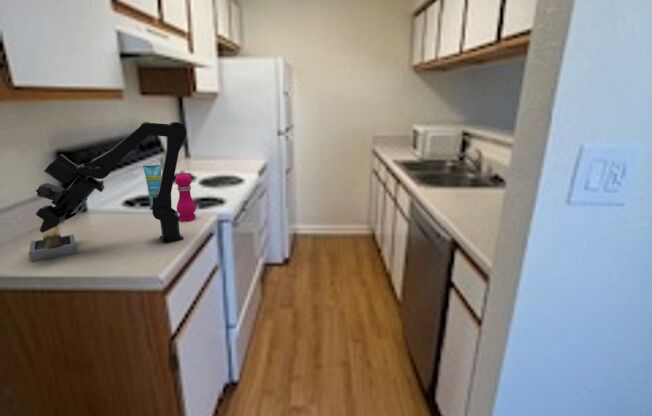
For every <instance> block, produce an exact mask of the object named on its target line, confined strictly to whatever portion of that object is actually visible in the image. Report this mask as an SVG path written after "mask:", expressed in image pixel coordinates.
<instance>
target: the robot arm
mask: <svg viewBox="0 0 652 416" xmlns="http://www.w3.org/2000/svg"><path fill="white" fill-rule="evenodd" d="M149 136H155V137H156V136H157V137H165V138H166V139H165V140H166V142H165V143H166V148H165V149H166V151H165V156H164V161H163V167H162V170H161V182H160V187H159V191H158V193H157V195H155V194H152V202H151V204H150V203H149V208H150V211H152V216H153V218H155V219H156V220H159V221H160V222H159V223H160V230H161V235H159V239H160V240H161V242H162V243H171V242H176V241H180V240H184V237H183V236H182V235H181V230H180V220H179V213H178V212H177V210H175V209H174V208H173V207H172V189H173V184H174V181H175V173H176V169H177V163H178V160H179V159H178V158H179V153H180V151H181V149H182V147H183V144H184V142H185V140H186V137H187V127H185V125H184V124H183V123H181V122H178V121H171V122H169V123H157V122H149V121H143V122H142V123H141V124H140V125H139V126H138V127H137V128H136V129H135V130H134V131H132V132H131V133H130V134H129V135H128V136H126V137H124V139H123V140H122V141H120V142H119V143H118V144H116V145H115V146H114V147H113V148H112V149H110V150H108V151H107V152H104V153H102V154H100V155H99V156H97V157H95V158H93V159H92V160H91V161H90V162H87V163H81V164H76V163H75V162H72V160H70V159H69V158H68V157H67V156H66V155H64V154H59V155H58V156H57V157H56V158H55V160H53V161H52V162H51V163H49V164H48V165H47V167H45V169H44V171H43V173H44V174H47V175H49V176H50V177H51V178H53V179H55V180H57V181H58V182H60V183H61V184H64V183H65V184H66V183H69V184H70V185H69V186H68V187H67V188H63V187H62V186H61V187H60V186H58V185H55V184H52V183H50V182H49V183H48V182H46V183H42V184H40V185H39V186H38V188H37V189H36V190H35V192H36V193H37V194H36V196H37V197H39V198H44V199H47V200H49V201H50V200H51V204H52V205H54V206H52V205H51V204H50V205H49V204H48V205H45V206H42V207H39V208H38V209H39V210H38V211H37V210H36V212H35V215H36V216H37V217H38V218H39V217H40V218H41V219H43V220H44V221H43V223H42V225H41V226H40V228H39V232H40V233H41V234H42V233H43V232H45V231H47V230H50V229H52V228H54V227H57V226H60V225H62V224H64V223H65V221H68V220H69V219H71V218H73V217H75V216H76V215H77V213H81V212H82V211H84V209H85V208H86V201H88V198H89V196H90V195H91V194H93V192H94V191H95V190H97V191H98V192H101V193H102V192H103V191H104V190H105V184H104V183H105V182H104V180H103V179H105V178H107V177H108V175H110V174H111V173H112V171H113V170H114V168H115V167H116V166H117V165H118V163H120V161H121V159H123V158H124V157H125V156H127V155H128V154H129V153H130V152H131V151H132V150H134V149H135V148H136V147H137V146H138V145H140V144H141V143H142V142H144V141H145V140H146V139H147V138H148V137H149ZM75 177H76V178H75ZM74 178H75V179H74ZM73 179H74V180H73ZM100 179H101V180H100ZM72 180H73V181H72ZM71 181H72V183H70V182H71ZM76 212H77V213H76Z"/></svg>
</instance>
